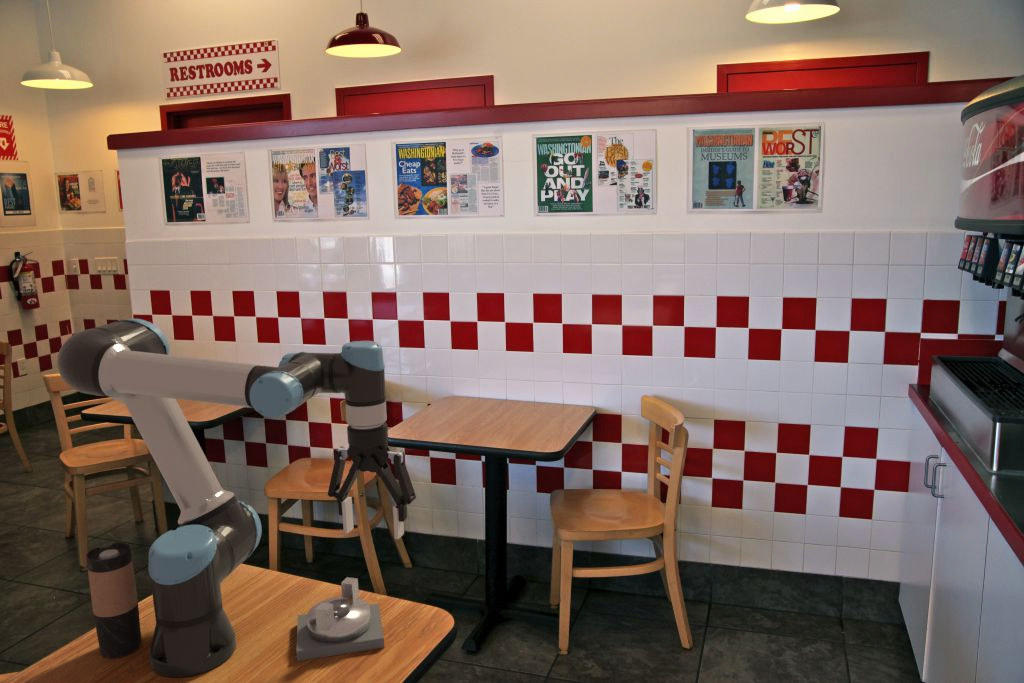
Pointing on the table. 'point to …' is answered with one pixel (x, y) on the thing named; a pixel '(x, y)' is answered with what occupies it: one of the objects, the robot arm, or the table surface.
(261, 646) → the table surface
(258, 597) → the table surface
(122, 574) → the travel mug
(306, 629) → the gray square base plate
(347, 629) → the silver metal dome
